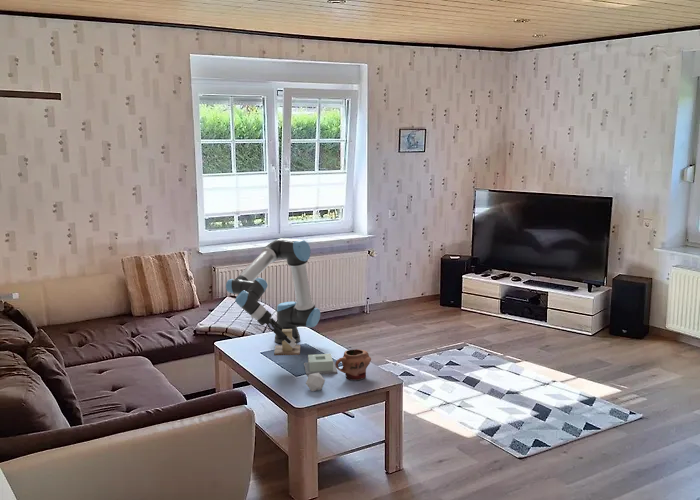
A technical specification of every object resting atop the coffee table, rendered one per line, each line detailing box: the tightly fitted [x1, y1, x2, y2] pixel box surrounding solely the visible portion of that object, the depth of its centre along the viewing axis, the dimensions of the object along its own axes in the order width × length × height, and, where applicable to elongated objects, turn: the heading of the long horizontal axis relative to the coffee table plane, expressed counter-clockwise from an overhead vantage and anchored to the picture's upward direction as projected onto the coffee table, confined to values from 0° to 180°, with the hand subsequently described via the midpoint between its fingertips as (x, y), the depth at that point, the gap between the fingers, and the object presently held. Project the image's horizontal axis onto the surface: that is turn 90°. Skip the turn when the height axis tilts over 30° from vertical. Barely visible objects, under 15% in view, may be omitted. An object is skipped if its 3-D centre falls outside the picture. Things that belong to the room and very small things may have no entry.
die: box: [305, 373, 326, 392], centre depth 312 cm, size 8×9×10 cm
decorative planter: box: [335, 348, 372, 381], centre depth 326 cm, size 20×12×14 cm, turn 125°
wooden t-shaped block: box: [273, 329, 301, 356], centre depth 336 cm, size 13×13×11 cm
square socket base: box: [303, 353, 338, 376], centre depth 340 cm, size 16×16×6 cm
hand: (294, 344), depth 337 cm, fingers closed on wooden t-shaped block, 5 cm apart
